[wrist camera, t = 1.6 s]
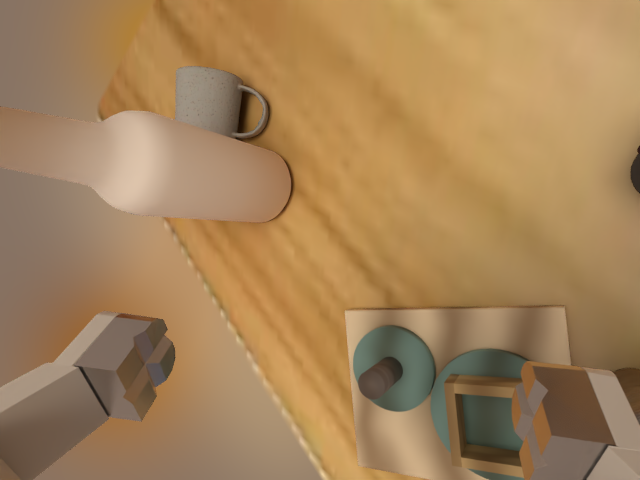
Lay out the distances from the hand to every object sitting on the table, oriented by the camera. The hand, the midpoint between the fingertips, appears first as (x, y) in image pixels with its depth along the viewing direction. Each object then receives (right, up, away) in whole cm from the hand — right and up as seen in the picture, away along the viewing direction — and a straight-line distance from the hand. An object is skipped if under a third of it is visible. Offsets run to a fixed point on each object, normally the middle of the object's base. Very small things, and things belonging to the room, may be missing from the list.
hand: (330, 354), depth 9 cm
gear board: (+12, -12, +29) cm, 34 cm away
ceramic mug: (-11, +19, +43) cm, 48 cm away
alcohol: (-7, +9, +41) cm, 42 cm away
